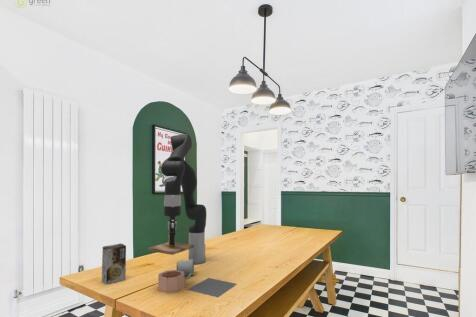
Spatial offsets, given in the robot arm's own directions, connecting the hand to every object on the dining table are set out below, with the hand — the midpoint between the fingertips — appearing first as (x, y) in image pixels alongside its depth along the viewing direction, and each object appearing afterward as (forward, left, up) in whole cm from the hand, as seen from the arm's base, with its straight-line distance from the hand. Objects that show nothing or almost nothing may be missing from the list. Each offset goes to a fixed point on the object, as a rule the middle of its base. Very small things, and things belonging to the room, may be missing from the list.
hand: (171, 243), depth 120 cm
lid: (0, 0, -2) cm, 2 cm away
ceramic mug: (-14, -4, -20) cm, 25 cm away
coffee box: (+6, -31, -19) cm, 37 cm away
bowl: (0, 0, -19) cm, 19 cm away
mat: (-9, +16, -19) cm, 27 cm away
